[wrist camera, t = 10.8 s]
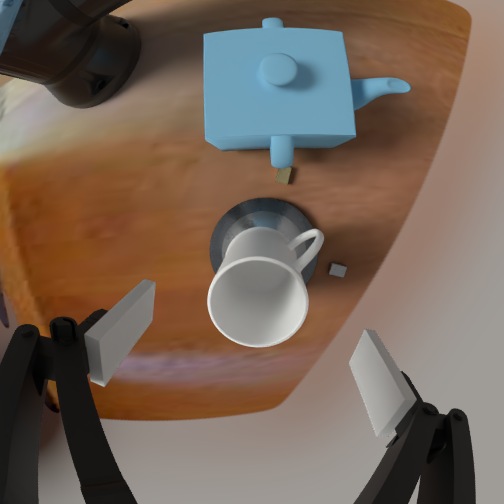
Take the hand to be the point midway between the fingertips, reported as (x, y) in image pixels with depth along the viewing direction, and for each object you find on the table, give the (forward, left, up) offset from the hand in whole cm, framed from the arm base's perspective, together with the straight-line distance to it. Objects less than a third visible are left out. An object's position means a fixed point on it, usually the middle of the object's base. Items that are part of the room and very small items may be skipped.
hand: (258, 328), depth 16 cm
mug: (0, +1, -18) cm, 18 cm away
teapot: (-18, 0, -19) cm, 26 cm away
